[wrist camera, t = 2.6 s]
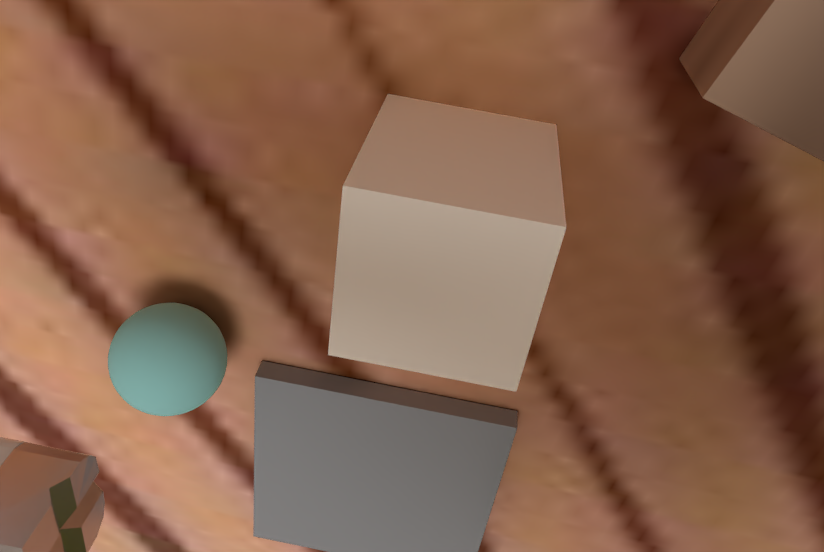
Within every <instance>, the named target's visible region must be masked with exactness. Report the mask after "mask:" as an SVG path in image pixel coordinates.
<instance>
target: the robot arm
mask: <svg viewBox="0 0 824 552" xmlns="http://www.w3.org/2000/svg"><path fill="white" fill-rule="evenodd" d="M98 473H99V468H98V464H97V460H96V457H95V456H90V455H86V454H81V453H76V452H71V451H66V450H61V449H56V448H52V447H47V446H42V445H37V444H32V443H28V442H23V441H18V440H13V439H7V438H2V437H0V552H88V551H89V550H90V548H91V546H92V544H93V542H94V540H95V539H96V537H97V534H98V531H99V528H100V525H101V522H102V519H103V516H104V504H105V501H104V495H103V491H102V490H101V489H100V488H99V487H98V486H97V485H96V484H95V483H94V482H93V481H94V479H95V478H96V476H97V474H98Z"/></svg>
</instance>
